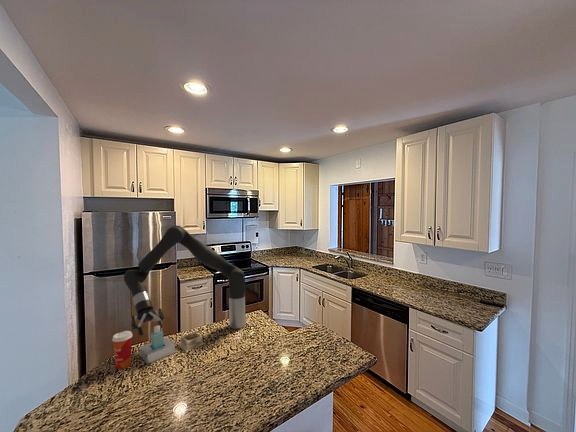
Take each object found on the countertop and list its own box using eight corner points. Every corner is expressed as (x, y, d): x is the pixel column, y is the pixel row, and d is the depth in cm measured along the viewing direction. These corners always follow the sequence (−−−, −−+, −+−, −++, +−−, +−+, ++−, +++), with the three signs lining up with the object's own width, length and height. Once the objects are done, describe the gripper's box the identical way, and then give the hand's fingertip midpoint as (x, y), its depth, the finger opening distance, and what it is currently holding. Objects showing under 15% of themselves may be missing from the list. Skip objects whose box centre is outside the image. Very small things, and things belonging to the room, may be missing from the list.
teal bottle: (160, 350, 124) (159, 323, 123) (163, 353, 121) (163, 326, 121) (151, 354, 121) (150, 326, 120) (154, 357, 118) (154, 329, 118)
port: (166, 346, 128) (166, 337, 128) (175, 354, 122) (174, 344, 121) (140, 357, 120) (139, 346, 120) (147, 365, 113) (147, 355, 113)
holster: (195, 338, 137) (195, 330, 137) (205, 344, 130) (205, 336, 130) (177, 345, 129) (176, 337, 129) (186, 353, 122) (186, 344, 122)
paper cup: (111, 365, 113) (110, 334, 113) (131, 358, 119) (130, 328, 118) (115, 373, 108) (114, 340, 107) (135, 365, 113) (134, 334, 113)
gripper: (128, 303, 125) (137, 333, 118) (159, 295, 136) (168, 323, 128) (125, 310, 129) (133, 341, 121) (155, 303, 139) (164, 330, 132)
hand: (151, 332), depth 125 cm, fingers open, 8 cm apart
